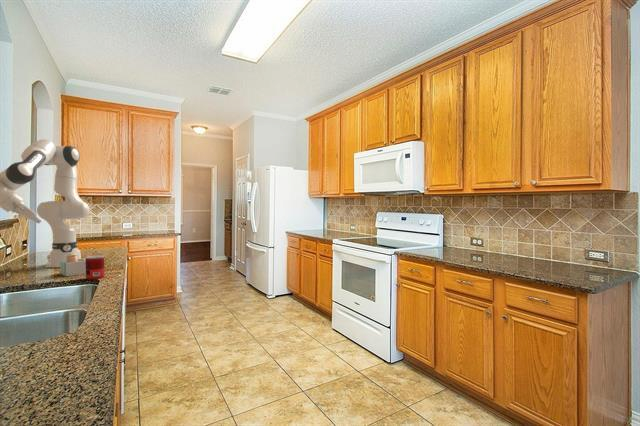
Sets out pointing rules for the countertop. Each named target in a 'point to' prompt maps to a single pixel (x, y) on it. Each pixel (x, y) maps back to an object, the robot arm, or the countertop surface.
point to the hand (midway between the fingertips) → (39, 222)
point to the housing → (76, 267)
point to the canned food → (95, 267)
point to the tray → (63, 267)
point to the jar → (72, 258)
